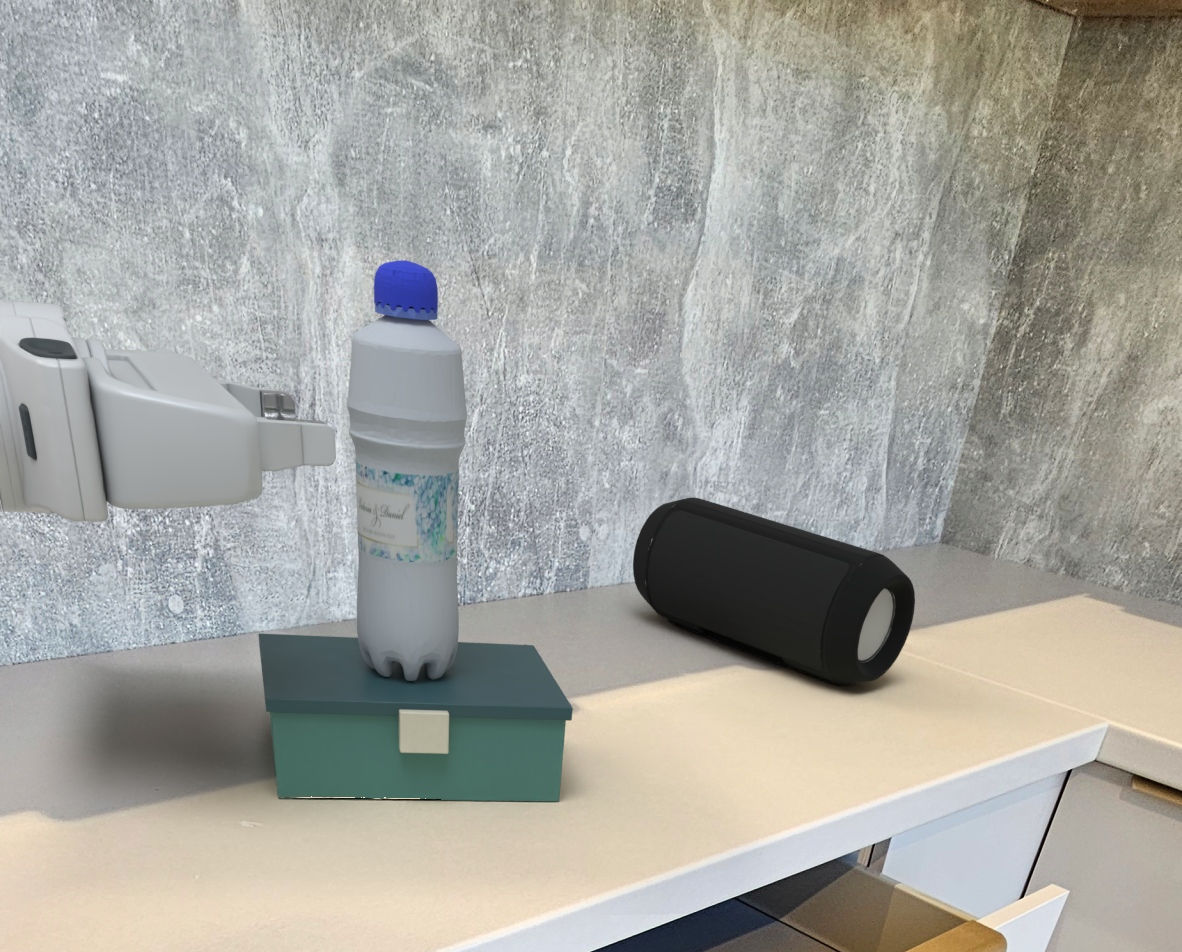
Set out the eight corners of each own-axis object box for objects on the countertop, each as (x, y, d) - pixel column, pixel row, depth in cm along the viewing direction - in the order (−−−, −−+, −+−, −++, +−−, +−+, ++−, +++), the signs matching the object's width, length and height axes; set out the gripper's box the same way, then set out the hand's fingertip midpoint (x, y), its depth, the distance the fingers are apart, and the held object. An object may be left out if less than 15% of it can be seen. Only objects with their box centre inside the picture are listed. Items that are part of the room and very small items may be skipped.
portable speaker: (901, 685, 105) (934, 556, 98) (836, 702, 100) (866, 567, 93) (688, 607, 117) (705, 487, 110) (619, 618, 112) (632, 494, 105)
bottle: (332, 666, 75) (314, 249, 61) (402, 647, 79) (400, 253, 65) (414, 695, 72) (414, 268, 59) (482, 674, 77) (496, 271, 63)
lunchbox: (273, 803, 73) (265, 701, 69) (265, 725, 83) (258, 630, 79) (566, 806, 78) (574, 710, 73) (526, 731, 87) (532, 642, 83)
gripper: (40, 445, 70) (276, 456, 75) (75, 530, 57) (360, 537, 61) (15, 307, 66) (268, 329, 70) (47, 365, 52) (356, 386, 57)
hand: (311, 426), depth 66 cm, fingers open, 8 cm apart
